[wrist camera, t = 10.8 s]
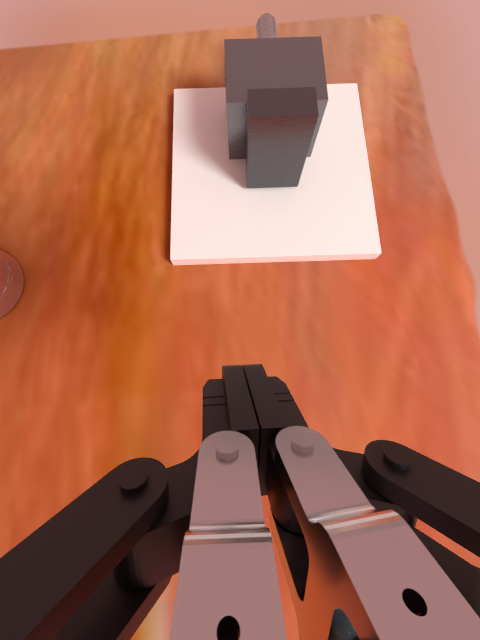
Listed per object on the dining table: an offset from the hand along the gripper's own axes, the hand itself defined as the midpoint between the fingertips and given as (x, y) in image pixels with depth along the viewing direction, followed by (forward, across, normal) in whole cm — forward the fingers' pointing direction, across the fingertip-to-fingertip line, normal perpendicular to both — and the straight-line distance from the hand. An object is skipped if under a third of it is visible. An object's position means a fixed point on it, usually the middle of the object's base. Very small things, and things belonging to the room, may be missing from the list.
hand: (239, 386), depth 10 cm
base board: (+29, -7, -13) cm, 32 cm away
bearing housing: (+30, -7, -18) cm, 36 cm away
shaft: (+31, -7, -19) cm, 37 cm away
